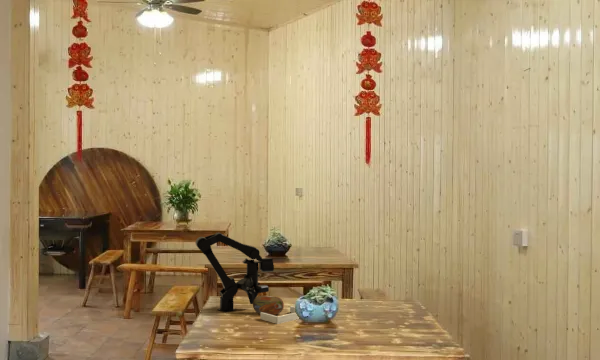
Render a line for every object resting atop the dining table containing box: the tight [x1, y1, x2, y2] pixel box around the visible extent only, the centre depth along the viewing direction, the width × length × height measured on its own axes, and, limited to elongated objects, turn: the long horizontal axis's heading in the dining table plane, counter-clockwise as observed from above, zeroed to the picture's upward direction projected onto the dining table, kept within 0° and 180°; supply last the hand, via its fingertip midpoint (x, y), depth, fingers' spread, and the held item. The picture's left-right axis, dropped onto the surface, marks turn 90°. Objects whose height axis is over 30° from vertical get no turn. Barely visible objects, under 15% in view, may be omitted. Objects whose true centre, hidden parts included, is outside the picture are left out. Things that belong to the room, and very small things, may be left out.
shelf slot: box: [259, 305, 300, 325], centre depth 269 cm, size 12×20×3 cm, turn 136°
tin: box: [252, 295, 285, 316], centre depth 277 cm, size 15×3×8 cm, turn 73°
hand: (251, 304), depth 285 cm, fingers closed
